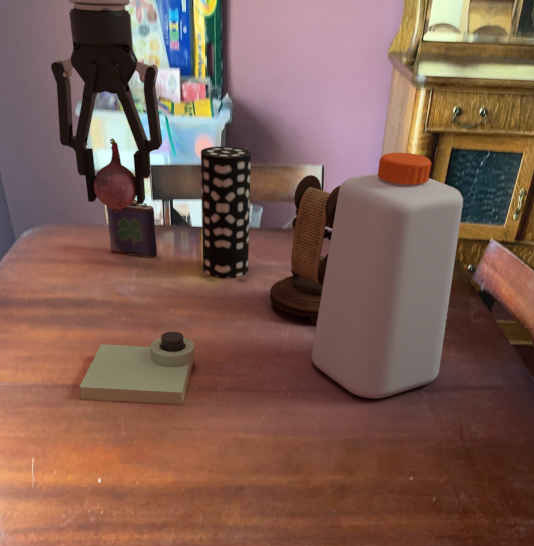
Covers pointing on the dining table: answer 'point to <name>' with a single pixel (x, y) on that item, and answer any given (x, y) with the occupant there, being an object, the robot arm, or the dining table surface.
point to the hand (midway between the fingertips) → (117, 199)
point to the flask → (133, 230)
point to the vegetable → (115, 183)
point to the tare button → (172, 341)
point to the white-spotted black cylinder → (225, 210)
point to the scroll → (307, 250)
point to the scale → (139, 374)
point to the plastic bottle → (388, 279)
